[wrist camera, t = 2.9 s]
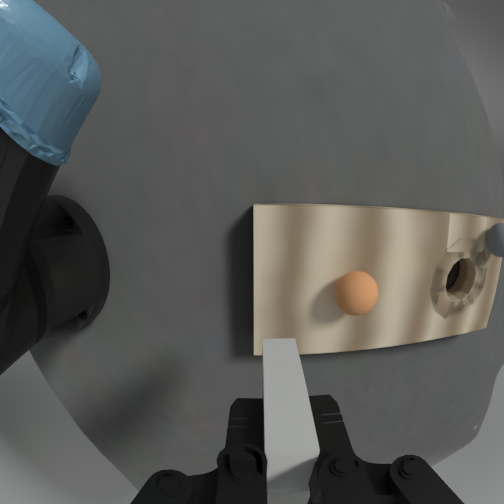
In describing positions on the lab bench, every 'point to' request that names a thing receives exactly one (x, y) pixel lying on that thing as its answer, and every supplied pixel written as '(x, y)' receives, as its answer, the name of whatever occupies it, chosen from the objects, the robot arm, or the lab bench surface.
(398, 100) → the lab bench surface
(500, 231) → the grey ball
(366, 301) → the ball
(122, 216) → the lab bench surface
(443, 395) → the lab bench surface
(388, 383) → the lab bench surface
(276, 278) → the board
